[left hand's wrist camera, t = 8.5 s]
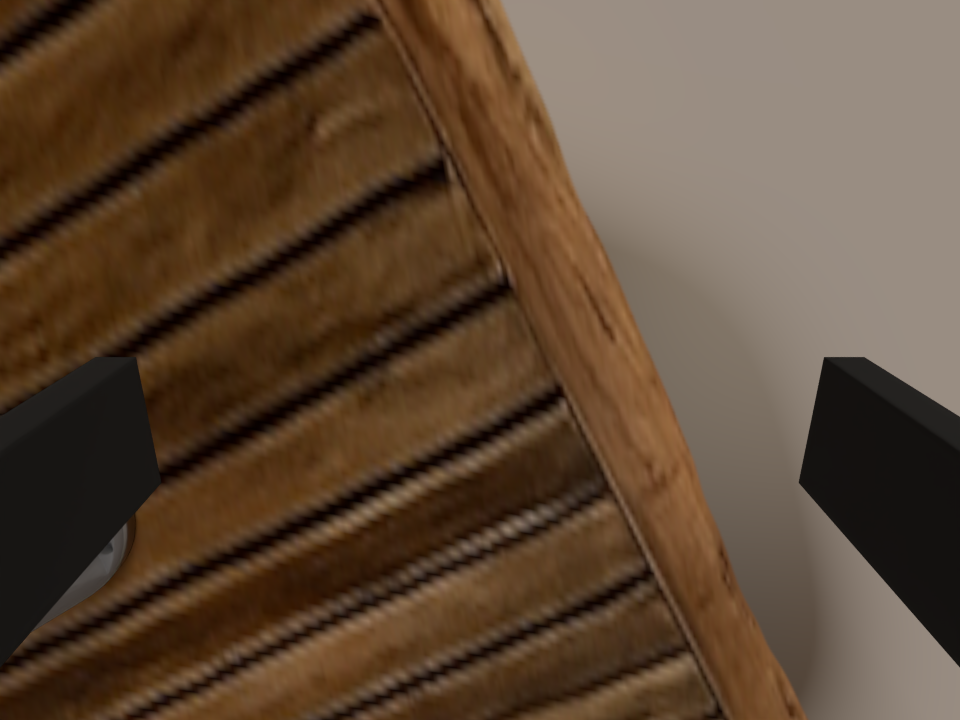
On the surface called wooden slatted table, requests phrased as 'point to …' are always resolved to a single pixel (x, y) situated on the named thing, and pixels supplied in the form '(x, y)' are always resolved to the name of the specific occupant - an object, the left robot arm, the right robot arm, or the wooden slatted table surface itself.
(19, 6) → the wooden slatted table surface
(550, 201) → the wooden slatted table surface
